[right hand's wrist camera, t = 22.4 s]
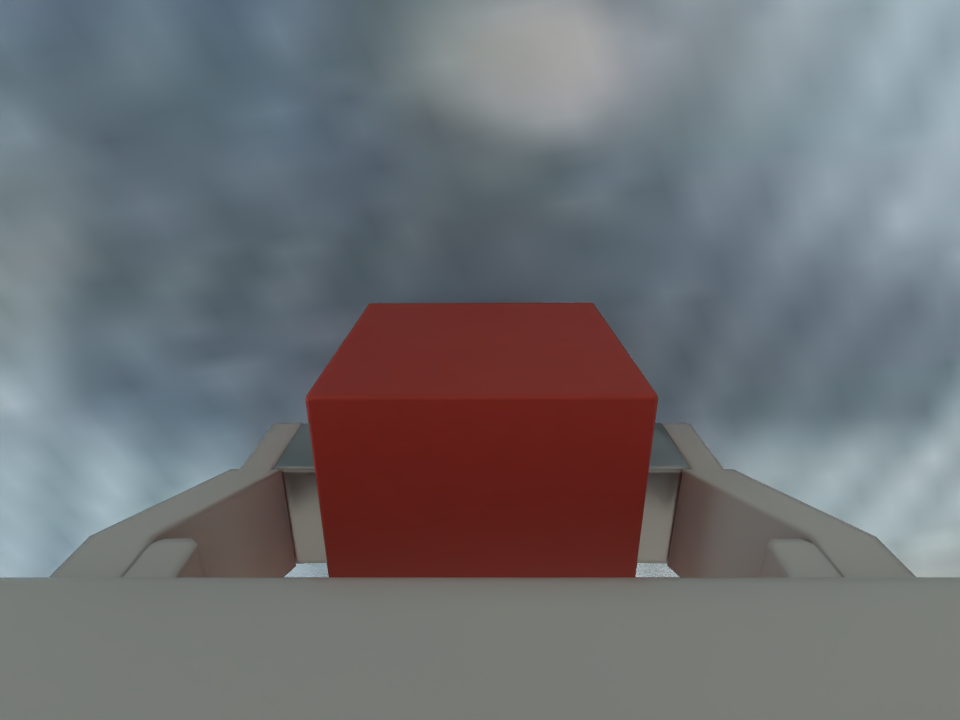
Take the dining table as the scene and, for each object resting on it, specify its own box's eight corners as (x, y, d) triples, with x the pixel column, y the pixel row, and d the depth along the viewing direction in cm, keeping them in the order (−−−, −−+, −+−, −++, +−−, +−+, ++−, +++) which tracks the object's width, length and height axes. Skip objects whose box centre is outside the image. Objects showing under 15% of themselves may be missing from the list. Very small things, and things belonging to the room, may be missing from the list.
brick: (577, 517, 13) (621, 690, 9) (385, 519, 13) (342, 691, 9) (593, 301, 11) (660, 394, 7) (368, 302, 11) (303, 396, 7)
